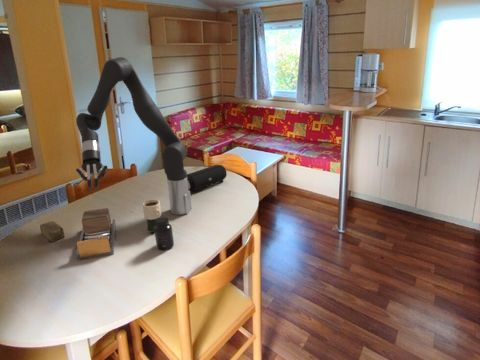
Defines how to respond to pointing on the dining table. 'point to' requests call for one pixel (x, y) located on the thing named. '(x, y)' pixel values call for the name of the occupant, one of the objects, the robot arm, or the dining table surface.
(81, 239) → the roller track
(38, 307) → the dining table surface
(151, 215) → the character mug
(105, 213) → the brown wooden block
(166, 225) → the supplement bottle
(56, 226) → the stone block
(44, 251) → the dining table surface
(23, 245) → the dining table surface
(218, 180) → the portable speaker
